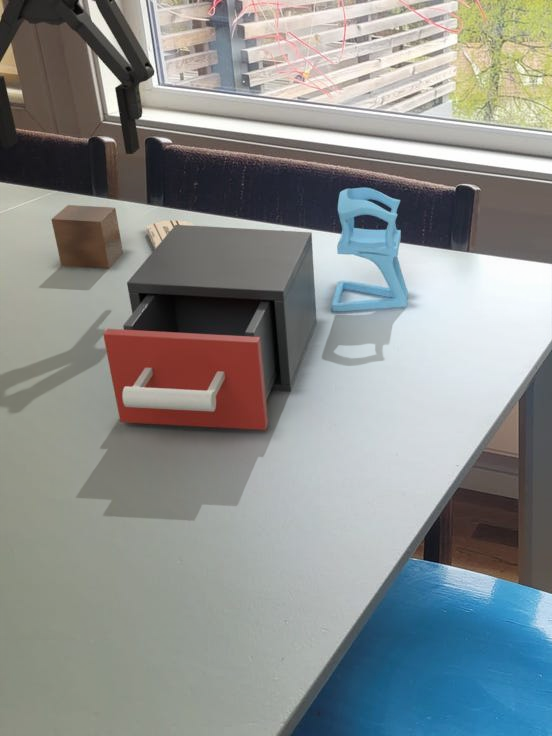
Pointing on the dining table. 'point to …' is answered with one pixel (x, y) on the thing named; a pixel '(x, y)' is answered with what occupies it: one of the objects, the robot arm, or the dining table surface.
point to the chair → (370, 249)
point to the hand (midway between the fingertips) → (71, 148)
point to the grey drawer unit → (240, 279)
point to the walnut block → (87, 236)
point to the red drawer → (195, 361)
